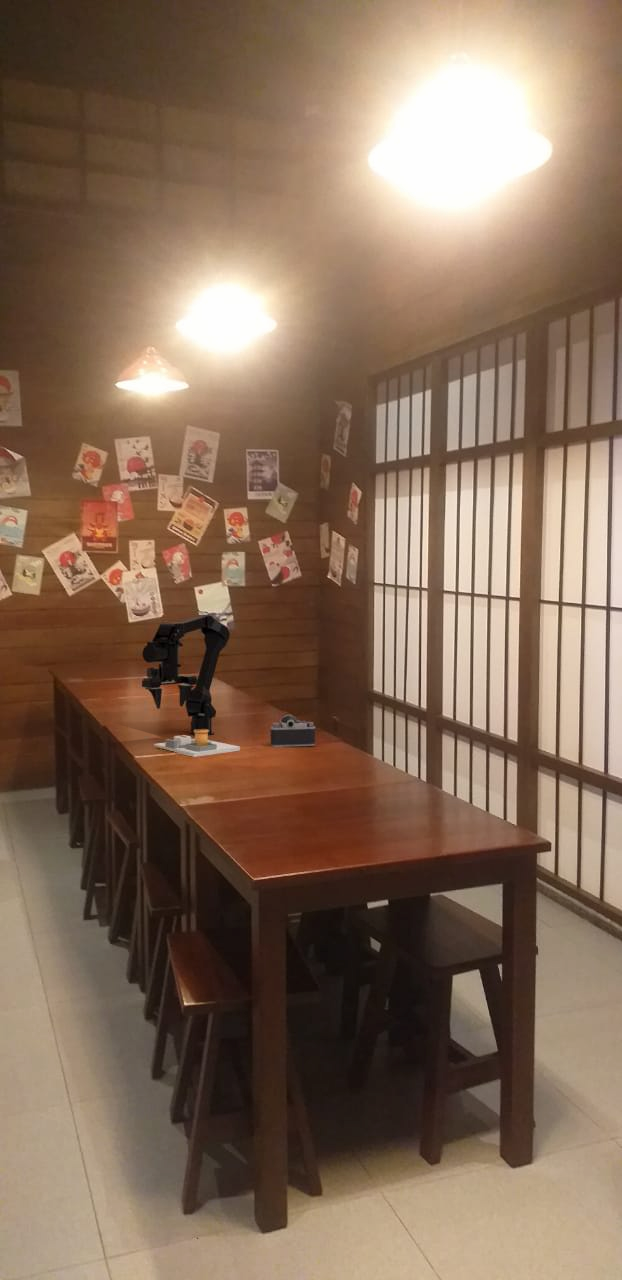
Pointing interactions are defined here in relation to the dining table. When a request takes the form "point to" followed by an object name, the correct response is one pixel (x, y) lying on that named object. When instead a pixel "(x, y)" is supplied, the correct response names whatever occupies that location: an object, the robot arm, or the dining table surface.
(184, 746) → the board
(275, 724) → the camera
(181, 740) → the block
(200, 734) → the cap
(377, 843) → the dining table surface
